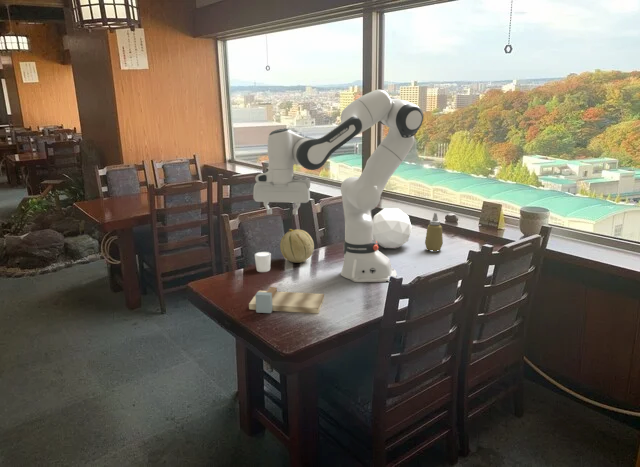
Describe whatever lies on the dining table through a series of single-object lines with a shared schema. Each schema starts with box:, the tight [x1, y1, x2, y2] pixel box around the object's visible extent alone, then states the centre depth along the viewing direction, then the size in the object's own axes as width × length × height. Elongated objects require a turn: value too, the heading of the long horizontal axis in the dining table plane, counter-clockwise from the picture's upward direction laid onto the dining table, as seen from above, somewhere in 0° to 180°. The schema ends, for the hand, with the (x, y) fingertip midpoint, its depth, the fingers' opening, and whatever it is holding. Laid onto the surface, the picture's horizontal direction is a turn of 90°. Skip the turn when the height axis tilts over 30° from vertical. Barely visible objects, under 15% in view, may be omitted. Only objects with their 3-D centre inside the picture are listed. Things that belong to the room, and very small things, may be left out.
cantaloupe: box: [279, 228, 315, 264], centre depth 210 cm, size 15×15×15 cm
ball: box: [372, 207, 413, 249], centre depth 228 cm, size 19×20×20 cm
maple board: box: [248, 290, 325, 314], centre depth 168 cm, size 24×12×2 cm, turn 81°
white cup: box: [254, 251, 272, 273], centre depth 201 cm, size 7×7×7 cm
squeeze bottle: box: [424, 212, 444, 251], centre depth 222 cm, size 8×8×18 cm
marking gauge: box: [254, 286, 278, 314], centre depth 166 cm, size 5×14×6 cm, turn 171°
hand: (282, 214), depth 173 cm, fingers open, 8 cm apart
